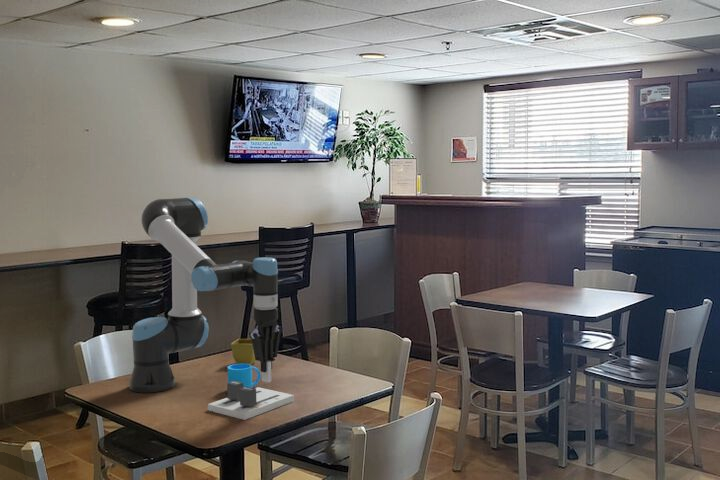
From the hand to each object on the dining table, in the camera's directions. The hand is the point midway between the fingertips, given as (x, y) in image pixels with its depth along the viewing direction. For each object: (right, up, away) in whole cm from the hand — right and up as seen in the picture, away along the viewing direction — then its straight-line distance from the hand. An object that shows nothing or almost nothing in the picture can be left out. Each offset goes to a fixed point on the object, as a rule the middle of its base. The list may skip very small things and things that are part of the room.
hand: (266, 381), depth 234 cm
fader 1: (-10, -6, 0) cm, 11 cm away
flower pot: (-14, -4, +52) cm, 54 cm away
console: (-5, -8, 0) cm, 9 cm away
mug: (-9, -6, +19) cm, 22 cm away
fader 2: (-5, -6, -7) cm, 10 cm away
